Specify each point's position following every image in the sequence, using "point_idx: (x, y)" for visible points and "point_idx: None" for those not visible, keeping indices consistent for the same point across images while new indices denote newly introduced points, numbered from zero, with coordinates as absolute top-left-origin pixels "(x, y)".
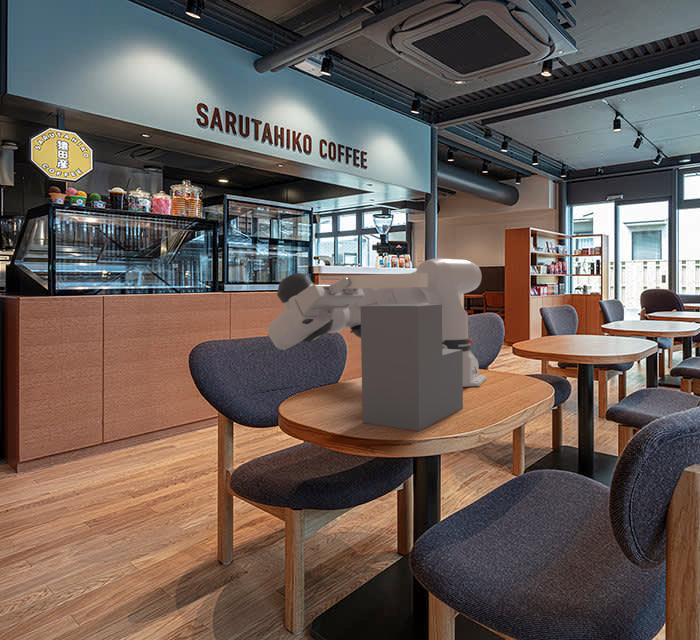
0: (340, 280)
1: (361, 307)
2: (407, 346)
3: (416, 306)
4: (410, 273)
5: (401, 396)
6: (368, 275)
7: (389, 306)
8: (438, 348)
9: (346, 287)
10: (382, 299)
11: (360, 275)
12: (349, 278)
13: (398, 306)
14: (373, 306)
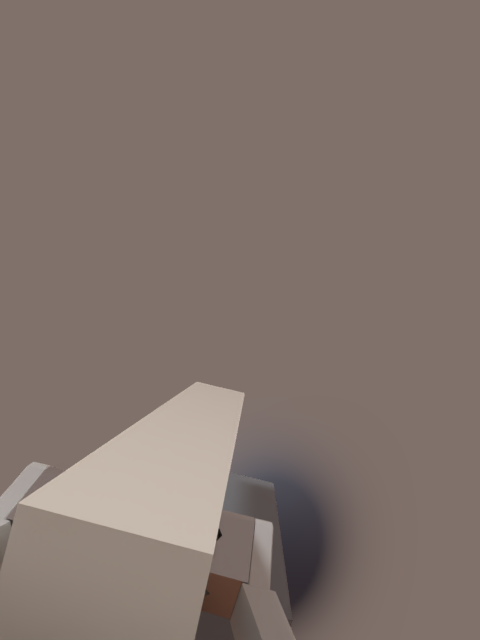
0: (204, 593)
1: (289, 622)
2: None
3: (273, 485)
4: (243, 397)
5: None
6: (235, 439)
7: (278, 527)
8: None
9: (204, 611)
10: None
11: (232, 454)
12: (222, 511)
13: (276, 510)
14: (284, 568)
